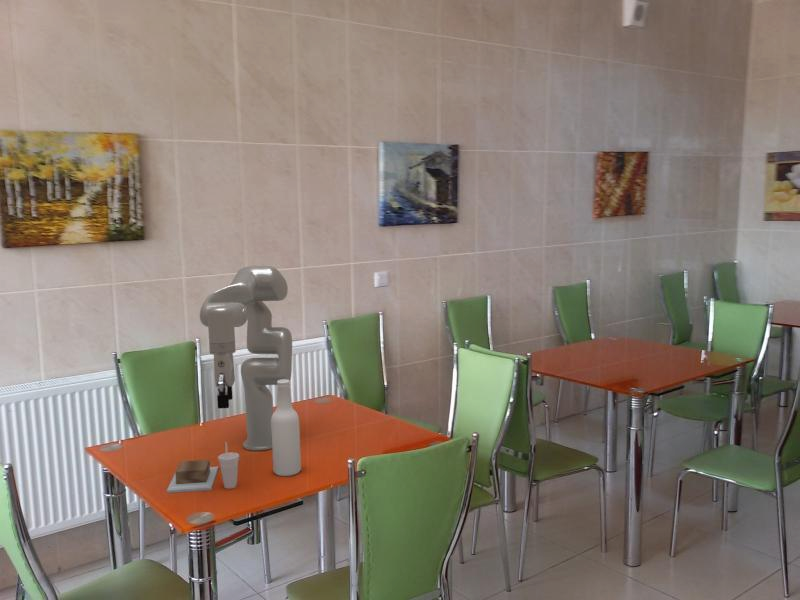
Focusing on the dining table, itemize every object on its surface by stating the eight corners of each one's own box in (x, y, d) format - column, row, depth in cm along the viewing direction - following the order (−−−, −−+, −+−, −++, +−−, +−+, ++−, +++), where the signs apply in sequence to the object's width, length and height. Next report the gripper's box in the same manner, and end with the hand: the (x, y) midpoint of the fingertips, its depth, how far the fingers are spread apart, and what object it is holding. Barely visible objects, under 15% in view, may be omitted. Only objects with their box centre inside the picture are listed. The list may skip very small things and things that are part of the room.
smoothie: (221, 482, 228) (218, 439, 226) (242, 481, 229) (240, 438, 227) (218, 490, 222) (215, 446, 220) (239, 489, 222) (237, 445, 220)
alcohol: (278, 479, 230) (274, 385, 226) (269, 470, 238) (265, 379, 234) (305, 473, 234) (301, 381, 230) (295, 465, 242) (291, 375, 238)
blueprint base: (218, 468, 240) (217, 454, 240) (211, 490, 222) (210, 474, 222) (177, 471, 239) (176, 457, 238) (166, 493, 221) (165, 477, 220)
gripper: (232, 352, 211) (235, 410, 213) (238, 342, 228) (240, 395, 230) (205, 353, 210) (208, 412, 212) (213, 343, 227) (216, 397, 229)
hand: (225, 403), depth 221 cm, fingers open, 9 cm apart
